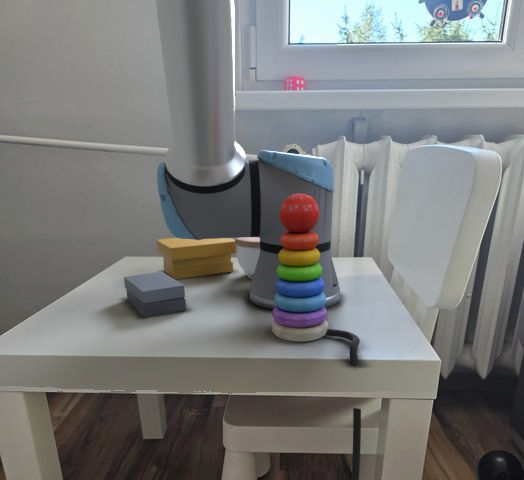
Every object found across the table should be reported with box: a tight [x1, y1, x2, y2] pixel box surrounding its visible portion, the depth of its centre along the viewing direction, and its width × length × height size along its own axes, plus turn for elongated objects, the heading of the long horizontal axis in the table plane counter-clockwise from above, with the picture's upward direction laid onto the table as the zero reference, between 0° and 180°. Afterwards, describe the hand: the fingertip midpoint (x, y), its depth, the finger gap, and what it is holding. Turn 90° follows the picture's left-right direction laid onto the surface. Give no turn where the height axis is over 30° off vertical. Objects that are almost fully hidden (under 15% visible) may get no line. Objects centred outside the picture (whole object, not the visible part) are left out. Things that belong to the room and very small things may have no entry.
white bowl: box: [234, 237, 260, 279], centre depth 97 cm, size 11×11×9 cm
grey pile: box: [123, 271, 187, 318], centre depth 82 cm, size 11×7×4 cm, turn 27°
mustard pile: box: [162, 254, 234, 280], centre depth 102 cm, size 13×8×4 cm, turn 117°
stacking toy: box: [271, 193, 330, 343], centre depth 66 cm, size 8×8×19 cm
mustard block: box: [155, 237, 236, 261], centre depth 101 cm, size 14×10×2 cm
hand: (209, 142), depth 98 cm, fingers open, 13 cm apart
